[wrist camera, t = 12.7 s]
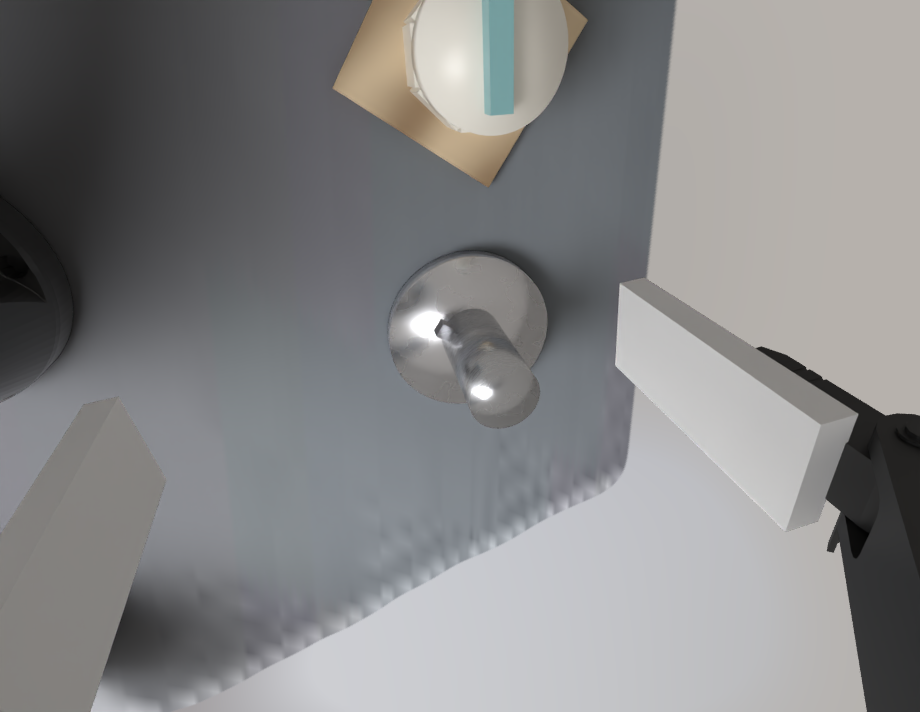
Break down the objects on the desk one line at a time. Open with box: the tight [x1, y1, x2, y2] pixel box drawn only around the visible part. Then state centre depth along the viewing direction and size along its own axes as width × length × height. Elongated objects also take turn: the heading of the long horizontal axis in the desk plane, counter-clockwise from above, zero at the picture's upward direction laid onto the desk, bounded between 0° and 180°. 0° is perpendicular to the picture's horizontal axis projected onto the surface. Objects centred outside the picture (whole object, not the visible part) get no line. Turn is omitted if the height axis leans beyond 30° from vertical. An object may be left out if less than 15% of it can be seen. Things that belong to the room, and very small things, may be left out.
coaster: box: [333, 0, 588, 187], centre depth 30 cm, size 11×11×1 cm
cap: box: [402, 0, 568, 136], centre depth 27 cm, size 8×8×6 cm
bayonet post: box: [388, 251, 548, 428], centre depth 35 cm, size 12×12×10 cm
